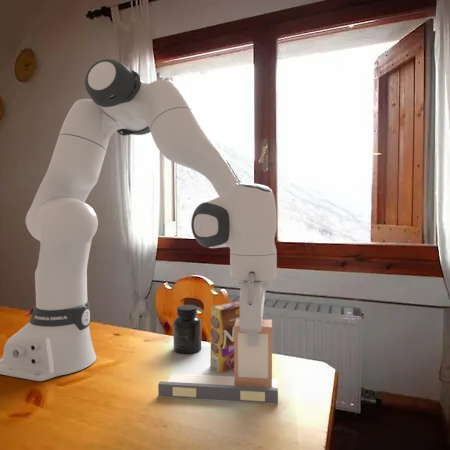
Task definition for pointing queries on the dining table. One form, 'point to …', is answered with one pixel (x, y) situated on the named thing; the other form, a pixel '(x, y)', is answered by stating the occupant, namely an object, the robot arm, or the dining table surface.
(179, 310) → the supplement bottle
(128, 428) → the dining table surface
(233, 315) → the candy box
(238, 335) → the carton
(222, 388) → the shelf board
